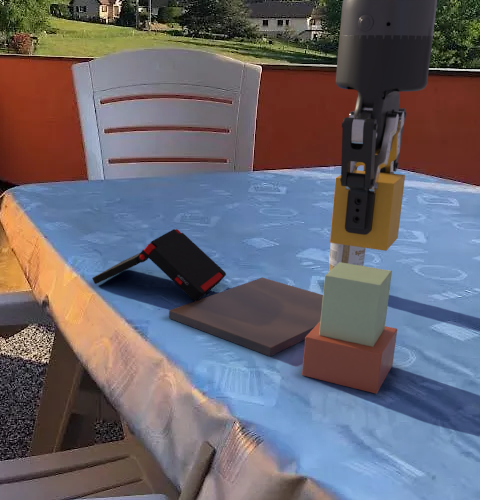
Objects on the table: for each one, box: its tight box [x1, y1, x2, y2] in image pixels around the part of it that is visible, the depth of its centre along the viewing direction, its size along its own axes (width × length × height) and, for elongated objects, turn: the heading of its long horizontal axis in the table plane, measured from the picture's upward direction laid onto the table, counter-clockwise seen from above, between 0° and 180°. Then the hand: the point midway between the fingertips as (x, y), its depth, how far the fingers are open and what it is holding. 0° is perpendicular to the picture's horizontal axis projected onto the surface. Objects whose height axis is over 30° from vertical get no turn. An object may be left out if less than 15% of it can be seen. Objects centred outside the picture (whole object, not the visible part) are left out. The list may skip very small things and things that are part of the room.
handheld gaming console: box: [91, 228, 227, 301], centre depth 92 cm, size 9×12×10 cm
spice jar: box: [328, 243, 366, 272], centre depth 91 cm, size 5×5×13 cm
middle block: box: [319, 262, 393, 347], centre depth 67 cm, size 5×5×6 cm
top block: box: [329, 169, 406, 252], centre depth 64 cm, size 5×5×6 cm
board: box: [168, 277, 323, 357], centre depth 82 cm, size 18×14×1 cm
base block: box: [301, 322, 398, 395], centre depth 68 cm, size 7×7×4 cm
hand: (365, 225), depth 65 cm, fingers closed on top block, 5 cm apart
